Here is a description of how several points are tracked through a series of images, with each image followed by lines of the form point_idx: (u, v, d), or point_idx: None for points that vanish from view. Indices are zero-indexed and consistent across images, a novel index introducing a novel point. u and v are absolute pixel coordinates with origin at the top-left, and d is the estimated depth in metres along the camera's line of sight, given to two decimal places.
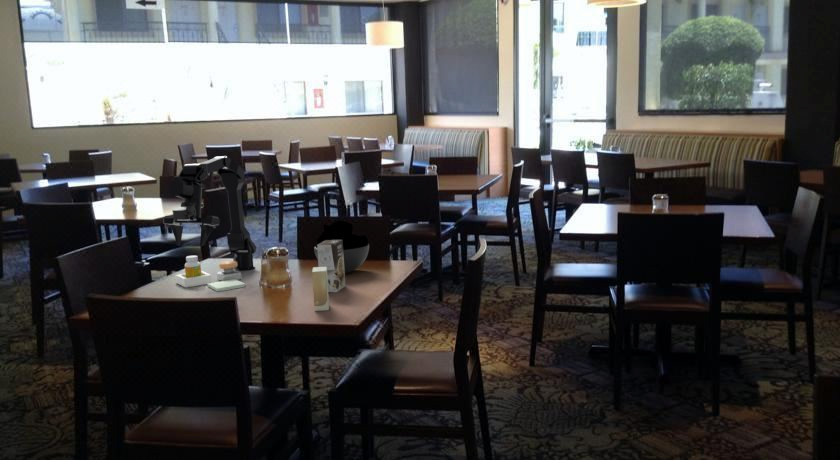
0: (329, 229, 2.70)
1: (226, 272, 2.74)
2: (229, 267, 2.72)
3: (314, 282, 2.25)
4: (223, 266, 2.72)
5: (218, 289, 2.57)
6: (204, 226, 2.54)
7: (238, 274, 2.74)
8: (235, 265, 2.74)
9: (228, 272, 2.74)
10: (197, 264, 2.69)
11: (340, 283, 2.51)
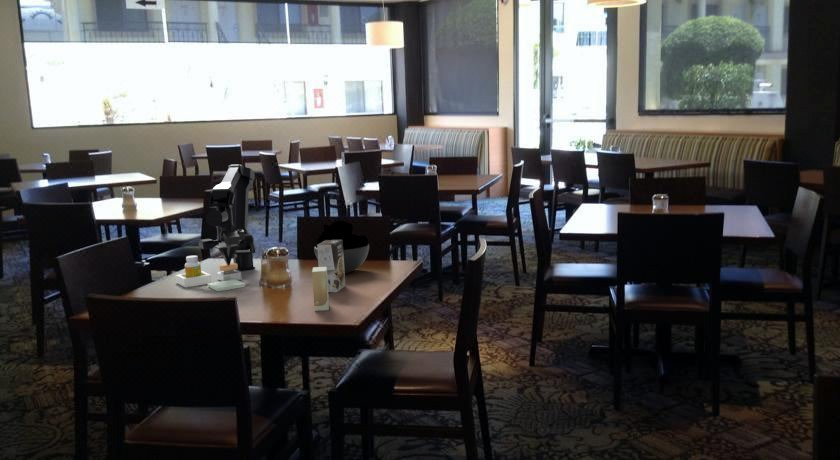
0: (329, 229, 2.70)
1: None
2: (229, 269, 2.72)
3: (314, 282, 2.25)
4: (223, 268, 2.72)
5: (218, 289, 2.57)
6: (235, 247, 2.73)
7: (238, 274, 2.74)
8: (235, 267, 2.74)
9: None
10: (197, 264, 2.69)
11: (340, 283, 2.51)
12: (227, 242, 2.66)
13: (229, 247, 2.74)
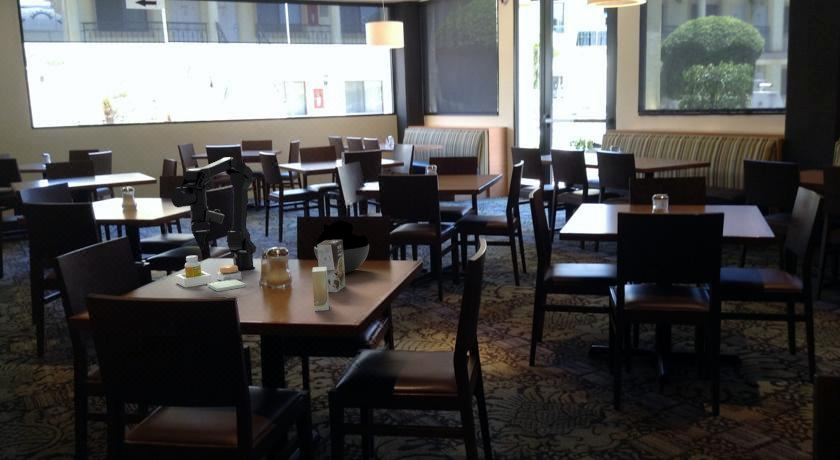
0: (329, 229, 2.70)
1: None
2: (229, 271, 2.72)
3: (314, 282, 2.25)
4: (223, 270, 2.72)
5: (218, 289, 2.57)
6: None
7: (238, 274, 2.74)
8: (235, 269, 2.74)
9: None
10: (197, 264, 2.69)
11: (340, 283, 2.51)
12: (221, 220, 2.69)
13: None
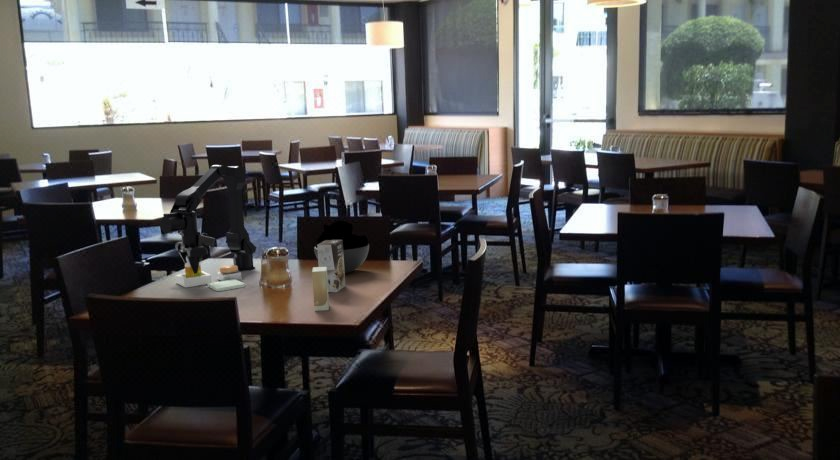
0: (329, 229, 2.70)
1: None
2: (229, 271, 2.72)
3: (314, 282, 2.25)
4: (223, 270, 2.72)
5: (218, 289, 2.57)
6: None
7: (238, 274, 2.74)
8: (235, 269, 2.74)
9: None
10: None
11: (340, 283, 2.51)
12: (213, 244, 2.72)
13: None
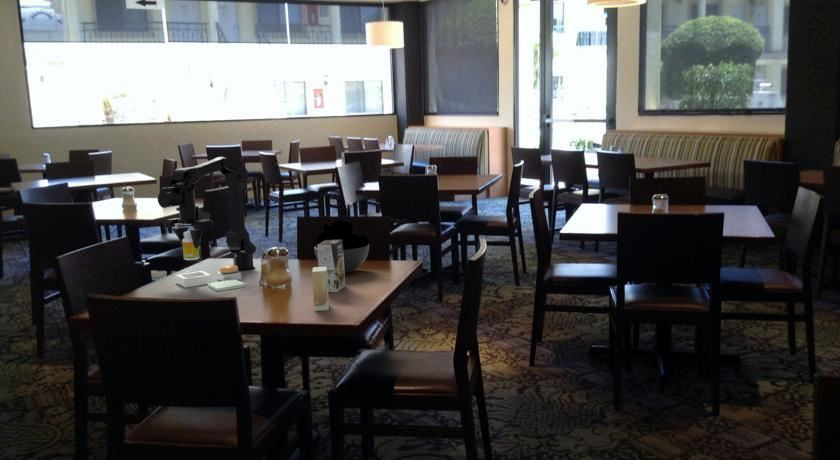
0: (329, 229, 2.70)
1: None
2: (229, 271, 2.72)
3: (314, 282, 2.25)
4: (223, 270, 2.72)
5: (218, 289, 2.57)
6: None
7: (238, 274, 2.74)
8: (235, 269, 2.74)
9: None
10: None
11: (340, 283, 2.51)
12: (208, 218, 2.73)
13: (184, 229, 2.71)
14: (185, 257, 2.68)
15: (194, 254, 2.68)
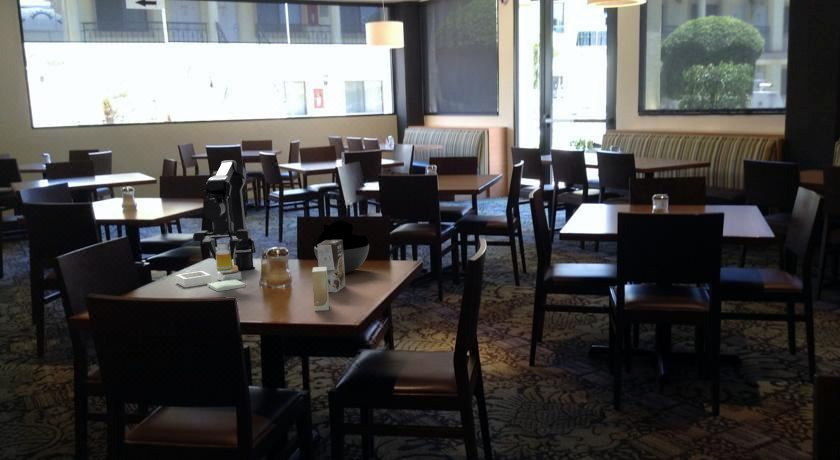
0: (329, 229, 2.70)
1: None
2: None
3: (314, 282, 2.25)
4: None
5: (218, 289, 2.57)
6: None
7: (238, 274, 2.74)
8: (235, 269, 2.74)
9: None
10: None
11: (340, 283, 2.51)
12: None
13: (213, 241, 2.62)
14: (222, 270, 2.60)
15: (231, 266, 2.62)
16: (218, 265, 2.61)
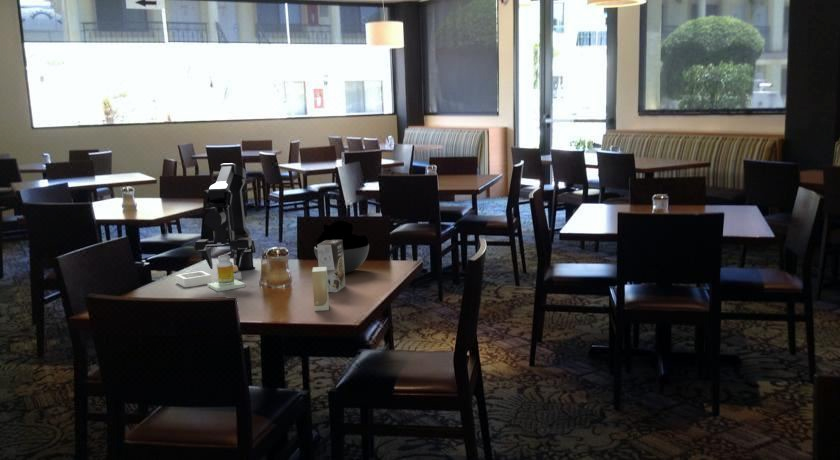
0: (329, 229, 2.70)
1: None
2: None
3: (314, 282, 2.25)
4: None
5: (218, 289, 2.57)
6: None
7: (238, 274, 2.74)
8: (235, 269, 2.74)
9: None
10: (232, 263, 2.64)
11: (340, 283, 2.51)
12: None
13: (209, 250, 2.63)
14: (224, 282, 2.61)
15: (232, 278, 2.63)
16: (219, 278, 2.61)
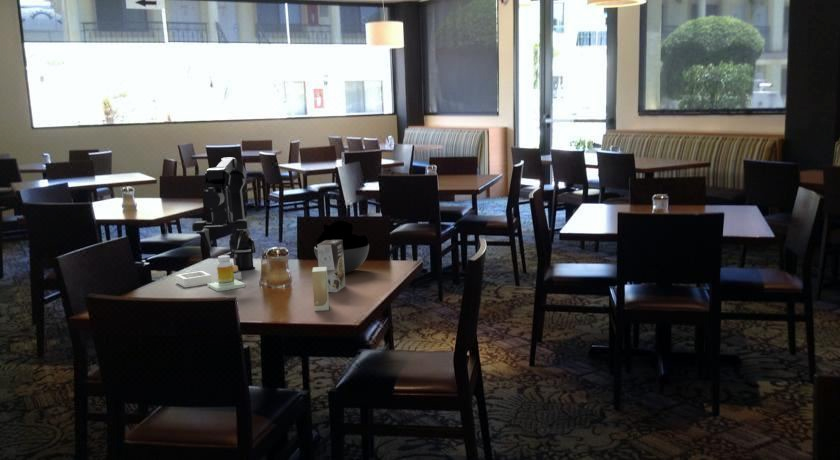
0: (329, 229, 2.70)
1: None
2: None
3: (314, 282, 2.25)
4: None
5: (218, 289, 2.57)
6: None
7: (238, 274, 2.74)
8: (235, 269, 2.74)
9: None
10: None
11: (340, 283, 2.51)
12: None
13: (207, 231, 2.62)
14: (224, 283, 2.61)
15: (232, 278, 2.63)
16: (219, 278, 2.61)
